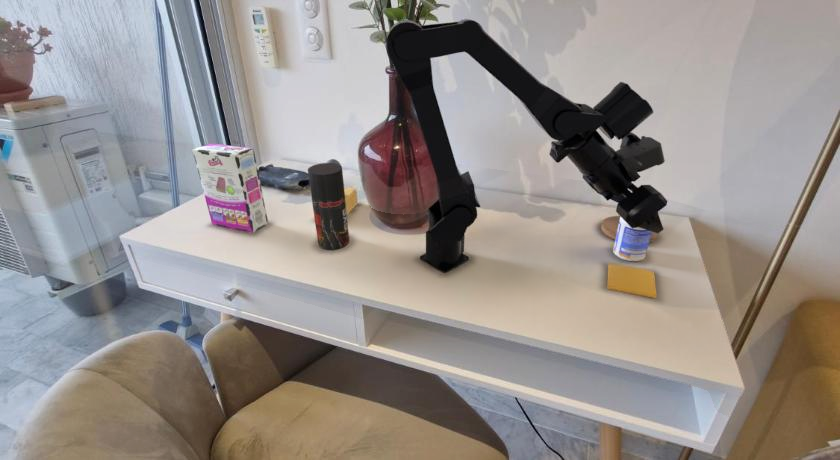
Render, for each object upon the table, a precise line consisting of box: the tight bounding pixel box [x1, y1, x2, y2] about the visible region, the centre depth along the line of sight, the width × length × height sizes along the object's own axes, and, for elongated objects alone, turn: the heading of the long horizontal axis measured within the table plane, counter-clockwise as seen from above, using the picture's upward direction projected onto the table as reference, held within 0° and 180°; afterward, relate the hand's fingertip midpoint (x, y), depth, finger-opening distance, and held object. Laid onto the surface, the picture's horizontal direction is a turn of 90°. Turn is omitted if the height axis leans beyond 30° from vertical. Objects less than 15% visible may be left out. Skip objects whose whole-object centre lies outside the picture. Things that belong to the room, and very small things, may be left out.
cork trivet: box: [600, 215, 658, 244], centre depth 86 cm, size 10×10×1 cm
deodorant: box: [307, 162, 350, 251], centre depth 80 cm, size 6×6×15 cm
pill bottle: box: [612, 217, 652, 262], centre depth 76 cm, size 5×5×10 cm
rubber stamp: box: [325, 158, 359, 216], centre depth 93 cm, size 10×6×12 cm, turn 167°
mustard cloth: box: [606, 263, 657, 299], centre depth 71 cm, size 7×7×1 cm
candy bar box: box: [191, 142, 269, 234], centre depth 87 cm, size 11×5×16 cm, turn 68°
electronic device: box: [257, 163, 310, 192], centre depth 109 cm, size 9×6×15 cm
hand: (646, 218), depth 75 cm, fingers open, 9 cm apart
